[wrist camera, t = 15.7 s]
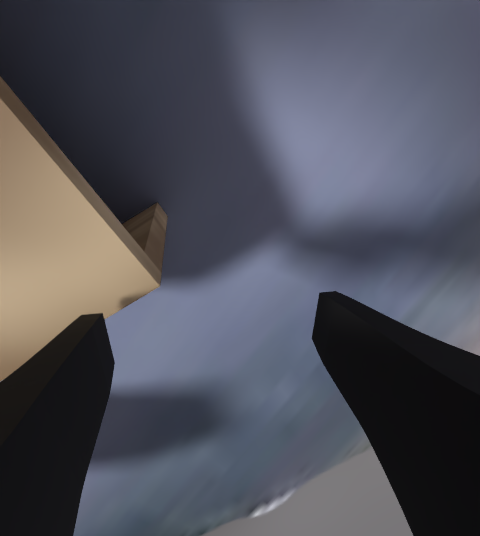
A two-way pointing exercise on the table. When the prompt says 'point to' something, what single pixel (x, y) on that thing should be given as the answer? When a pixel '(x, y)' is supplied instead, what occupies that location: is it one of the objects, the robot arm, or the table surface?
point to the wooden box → (61, 242)
